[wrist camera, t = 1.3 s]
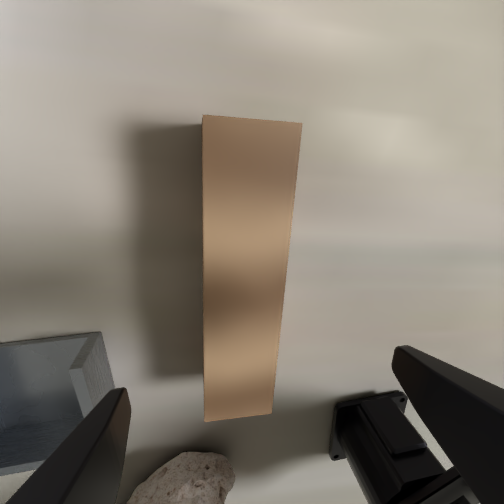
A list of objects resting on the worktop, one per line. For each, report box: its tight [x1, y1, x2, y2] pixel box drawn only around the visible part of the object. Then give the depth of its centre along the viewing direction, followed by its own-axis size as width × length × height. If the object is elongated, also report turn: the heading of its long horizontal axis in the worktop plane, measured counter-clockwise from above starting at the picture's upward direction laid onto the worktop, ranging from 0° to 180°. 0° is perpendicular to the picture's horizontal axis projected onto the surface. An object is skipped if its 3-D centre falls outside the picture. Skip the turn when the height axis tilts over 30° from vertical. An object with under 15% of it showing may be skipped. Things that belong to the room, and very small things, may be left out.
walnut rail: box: [202, 115, 302, 422], centre depth 15 cm, size 16×4×4 cm, turn 177°
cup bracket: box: [0, 332, 115, 476], centre depth 16 cm, size 7×7×3 cm
